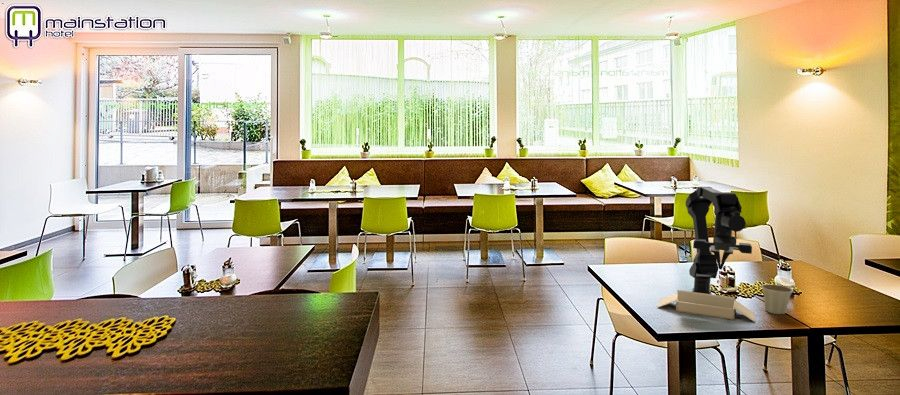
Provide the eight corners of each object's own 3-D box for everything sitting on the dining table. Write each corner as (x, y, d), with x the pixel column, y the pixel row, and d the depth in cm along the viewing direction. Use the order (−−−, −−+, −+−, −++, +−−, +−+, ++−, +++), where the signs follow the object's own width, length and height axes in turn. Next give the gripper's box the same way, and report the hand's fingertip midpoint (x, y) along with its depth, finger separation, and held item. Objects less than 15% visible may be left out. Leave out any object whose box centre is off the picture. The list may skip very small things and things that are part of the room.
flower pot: (796, 317, 179) (798, 292, 178) (765, 315, 181) (767, 290, 180) (784, 308, 188) (786, 285, 187) (755, 306, 190) (757, 283, 189)
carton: (661, 296, 200) (662, 287, 200) (753, 309, 186) (753, 299, 186) (657, 308, 187) (657, 297, 186) (755, 322, 173) (756, 311, 172)
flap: (677, 299, 183) (677, 289, 178) (733, 307, 175) (734, 297, 170) (677, 301, 182) (677, 291, 177) (733, 309, 174) (734, 298, 170)
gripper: (693, 227, 187) (691, 270, 188) (754, 232, 178) (750, 277, 180) (695, 223, 197) (692, 264, 198) (752, 228, 188) (749, 270, 190)
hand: (720, 269), depth 191 cm, fingers closed
